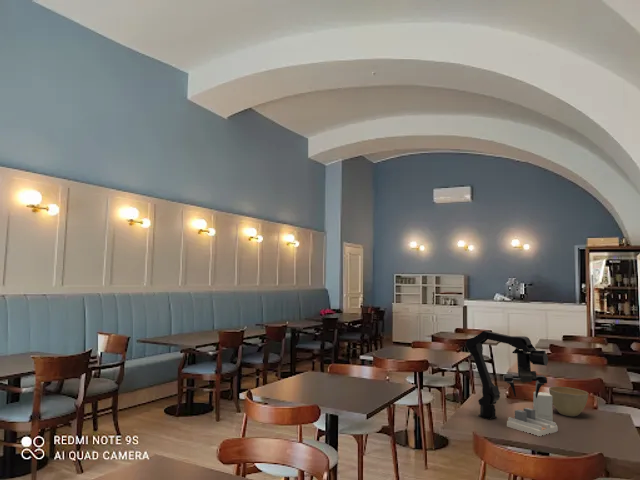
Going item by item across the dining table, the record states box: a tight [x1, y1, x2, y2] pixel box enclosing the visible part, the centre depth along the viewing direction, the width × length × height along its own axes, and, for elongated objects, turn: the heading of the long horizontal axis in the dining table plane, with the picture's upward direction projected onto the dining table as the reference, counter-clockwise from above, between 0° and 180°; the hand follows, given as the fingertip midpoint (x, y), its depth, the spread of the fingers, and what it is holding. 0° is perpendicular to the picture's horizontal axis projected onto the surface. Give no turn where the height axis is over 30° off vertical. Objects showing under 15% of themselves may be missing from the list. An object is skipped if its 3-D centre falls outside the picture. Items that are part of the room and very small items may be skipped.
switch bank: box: [506, 416, 559, 437], centre depth 220 cm, size 16×15×4 cm
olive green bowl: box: [548, 386, 589, 417], centre depth 247 cm, size 18×18×12 cm
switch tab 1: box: [514, 409, 527, 422], centre depth 221 cm, size 4×3×5 cm
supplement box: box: [532, 391, 554, 422], centre depth 235 cm, size 7×7×13 cm
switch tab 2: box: [523, 407, 535, 420], centre depth 225 cm, size 4×3×5 cm
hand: (525, 397), depth 224 cm, fingers open, 9 cm apart
